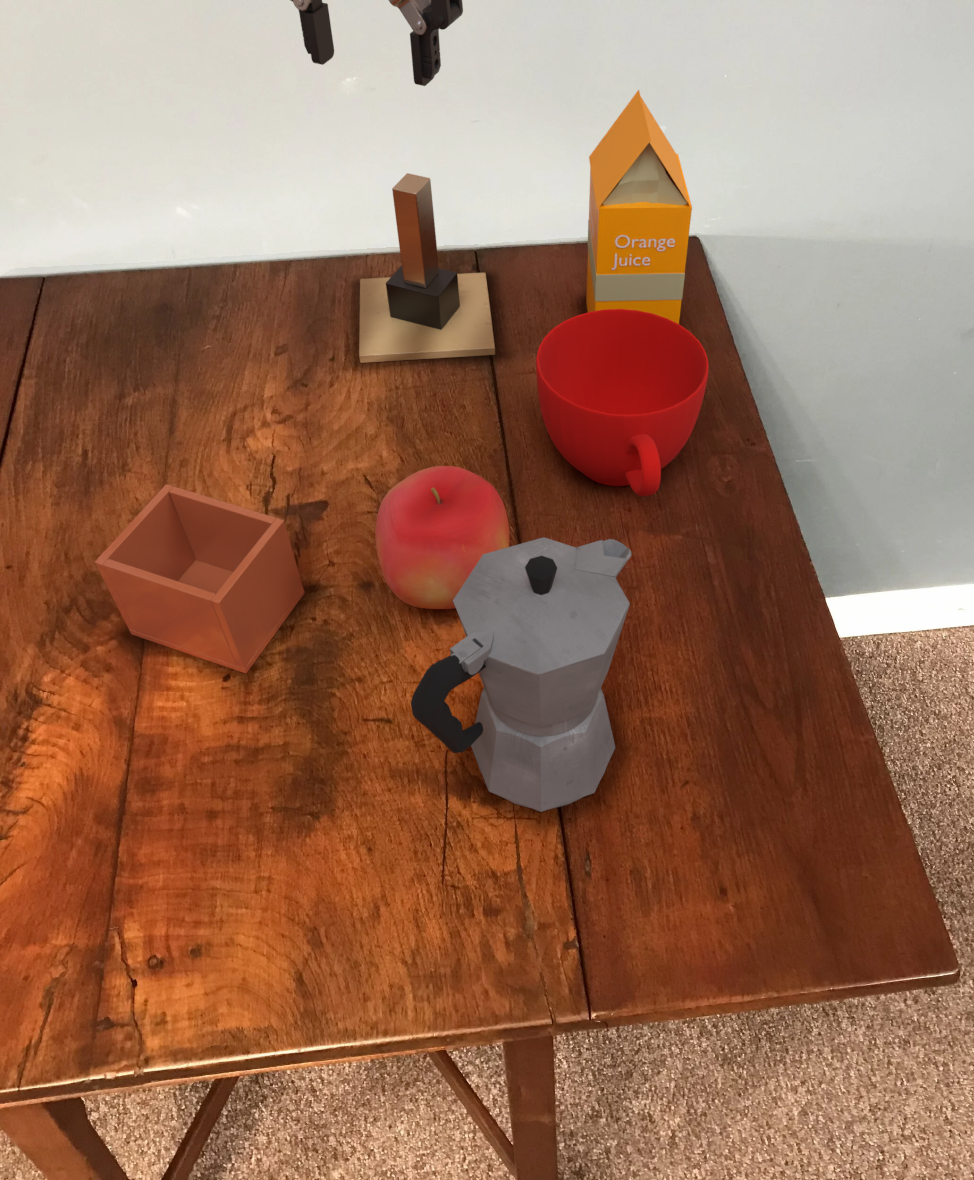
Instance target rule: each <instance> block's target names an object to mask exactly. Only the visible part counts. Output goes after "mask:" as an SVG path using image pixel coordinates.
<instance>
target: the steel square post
mask: <svg viewBox="0 0 974 1180" xmlns="http://www.w3.org/2000/svg"><path fill="white" fill-rule="evenodd" d="M431 181H432V180H431V177H426V176H423V175H418V174H413V173H408V172H407V173H405V175H404V176H403V177H402V178H400V180H398V181H397V183H396V184H395V185H394V186H393V187H392V188H391V191H392V198H393V206H394V215H395V222H396V223H395V224H396V230H397V237H398V238H397V239H398V246H399V254H400V263H401V265H400V266H399V267H398V268H397V270H396V271H395V272H394V273H393V274H392V275H391V276H390V277H391V278H390V279H389V280H388V281H387V282H386V289H387V296H388V303H389V310H390V317H393V318H396V319H400V320H404V321H408V322H412V323H416V324H420V325H424V326H428V327H432V328H436V329H440V330H442V329H443V327H444V326H445V325H446V323H447V322H448V321H449V320H450V318H451V317H452V316H453V314H454V313H455V312H456V311H457V309H458V308H459V307H460V302H459V289H458V276H457V274H458V272H456V271H452V270H447V269H444V268H439V266H440V265H439V255H438V247H437V245H438V244H437V235H436V234H437V233H436V225H435V215H434V213H435V211H434V203H433V194H432V193H433V192H432V182H431Z"/></svg>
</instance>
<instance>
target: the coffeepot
mask: <svg viewBox="0 0 974 1180" xmlns="http://www.w3.org/2000/svg"><path fill="white" fill-rule="evenodd" d="M631 556H632V551H631V549H630V548H629V547H628V546H626V545H625V544H623V542H621V541H618V540H616V539H613V538H608V539H605V540H603V539H600V540H595V541H594V542H593V541H592V542H590V543H586V544H583V545H580V546H572V545H569V544H566V543H564V542H560V541H557V540H554V539H551V538H548V537H546V536H545V537H544V536H543V537H540V538H536V539H533V540H529V541H526V542H521V543H518V544H515V545H511V546H509V547H507V548H504V549H500V550H497V551H493V552H490V553H486V554H483V555H482V557H481V558H480V560H479V561H478V563H477V564H476V566H475V568H474V569H473V571H472V572H471V574H470V575H469V577H468V578H467V580H466V581H465V583H464V584H463V586H462V587H461V589H460V590H459V592H458V594H457V595H456V597H455V598H454V600H453V603H454V605H455V608H454V609H455V610H456V612H457V615H458V618H459V620H460V621H459V622H460V623H461V627H462V629H463V632H464V635H465V637H464V638H463V639H462V640H460V641H458V642H457V643H456V644H454V645H453V646H451V647H450V648H449V652H450V655H448V656H446V657H444V658H442V659H440V660H438V661H436V662H435V663H433V664H431V665H430V666H429V667H428V668H427V669H426V671H425V673H424V674H423V675H422V678H421V680H420V681H419V682H418V685H417V686H416V688H415V690H414V692H413V694H412V696H411V701H410V707H411V713H412V716H413V717H414V719H416V721H418V722H419V723H420V724H421V725H422V726H424V727H425V728H426V729H427V730H428V731H429V732H430V733H431V734H433V735H434V736H435V737H436V738H437V739H438V740H439V741H440V742H441V743H442V744H443V745H444V746H445V747H447V749H448V750H449V751H451V752H452V753H453V754H463V752H465V751H466V750H468V749H469V748H470V747H471V750H472V752H473V755H474V757H475V758H474V759H475V760H476V763H477V766H478V769H479V771H480V774H481V775H482V777H483V780H484V783H485V786H486V788H487V790H488V792H489V793H491V794H493V795H496V796H498V797H500V798H502V799H504V800H506V801H508V802H510V803H511V804H515V805H517V806H521V807H524V808H527V809H532V810H535V811H537V812H540V813H542V812H547V811H549V810H552V809H557V808H560V807H565V806H569V805H571V804H572V803H574V802H578V801H579V800H581V799H583V798H584V797H587V796H589V795H593V794H595V793H596V791H597V788H598V786H599V784H600V782H601V780H602V778H603V777H604V775H605V773H606V770H607V767H608V765H609V763H610V760H611V758H612V756H613V754H614V752H615V750H616V744H615V743H616V742H615V739H614V735H613V731H612V726H611V722H610V717H609V712H608V708H607V704H606V698H605V695H604V692H603V690H602V686H603V684H604V682H605V679H606V677H607V675H608V673H609V670H610V667H611V664H612V660H613V658H614V655H615V651H616V649H617V645H618V642H619V639H620V636H621V633H622V630H623V627H624V624H625V620H626V617H627V614H628V612H629V608H630V604H631V603H630V601H629V600H628V598H627V596H626V594H625V592H624V590H623V589H622V587H621V585H620V584H619V581H618V580H617V577H618V575H619V574H620V573H621V572H622V569H623V568H624V566H626V564H627V562H628V561H629V560H630V558H631ZM476 675H479V679H480V680H481V683H482V685H483V689H482V691H481V693H480V698H479V703H478V708H477V714H476V718H475V723H473V724H472V725H470V726H469V727H466V728H464V729H463V724H462V721H461V720H460V719H458V717H456V716H455V715H453V713H452V711H451V708H450V705H449V704H448V703H447V702H446V699H447V697H448V695H449V693H450V692H451V691H452V690H454V689H456V688H457V687H458V686H460V685H462V684H464V683H466V682H467V681H468V680H471V679H472V678H473V677H475V676H476Z"/></svg>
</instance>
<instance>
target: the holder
mask: <svg viewBox="0 0 974 1180" xmlns="http://www.w3.org/2000/svg"><path fill="white" fill-rule="evenodd" d="M94 564H95V566H96V568H97V570H98V572H99V574H100V576H101V578H102V581H103V582H104V584H105V587H106V588H107V591H108V592H109V595H110V596H111V597H112V599H113V601H114V603H115V606H116V607H117V609H118V611H119V613H120V615H121V617H122V619H123V621H124V623H125V625H126V627H127V628H128V630H129V633H130V634H131V635H132V636H134V637H138V638H140V639H144V640H147V641H150V642H152V643H156V644H158V645H161V646H164V647H166V648H167V647H168V648H170V649H173V650H176V651H179V652H182V653H185V654H187V655H190V656H194V657H195V658H199V659H202V660H205V661H207V662H211V663H214V664H216V665H220V666H222V667H225V668H228V669H231V670H234V671H237V672H240V673H242V674H248V672H249V671H250V669H251V668H252V667H253V666H254V664H255V663H256V661H257V660H258V659H259V657H260V656H261V654H262V653H263V652H264V650H265V649H266V648H267V646H268V645H269V643H270V642H271V640H272V639H273V638H274V636H275V635H276V633H277V632H278V631H279V629H280V628H281V626H282V625H283V624H284V623H285V621H286V620H287V619H288V617H289V615H290V614H291V612H292V611H293V610H294V609H295V608H296V606H297V605H298V603H299V602H300V600H301V599H302V598H303V596H304V595H305V593H306V592H305V589H304V585H303V582H302V578H301V575H300V572H299V571H300V570H299V568H298V564H297V561H296V558H295V554H294V550H293V547H292V543H291V540H290V537H289V532H288V530H287V525H286V523H285V520H284V519H283V518H279V517H275V516H272V515H269V514H265V513H262V512H259V511H255V510H252V509H249V508H246V507H243V506H239V505H236V504H233V503H230V502H226V501H224V500H220V499H216V498H213V497H210V496H208V495H207V496H206V495H204V494H200V493H197V492H194V491H191V490H188V489H183V488H180V487H177V486H173V485H171V484H168V483H165V485H163V486H162V488H161V489H159V491H158V492H157V493H156V494H155V495H154V497H153V498H152V499H151V500H150V501H149V502H148V503H147V504H146V505H145V506H144V507H143V508H142V510H141V511H139V513H138V514H137V515H135V517H134V518H133V519H132V520H131V522H130V523H128V525H127V526H126V527H125V528H124V529H123V530H122V531H121V532H120V533H119V534H118V535H117V537H115V539H114V540H113V541H112V542H111V543H110V544H109V545H107V547H106V549H104V551H103V552H102V553H101V554H100V555H99V556H98V557H97V558H96V559H95V560H94Z"/></svg>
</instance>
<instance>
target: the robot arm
mask: <svg viewBox="0 0 974 1180" xmlns="http://www.w3.org/2000/svg"><path fill="white" fill-rule="evenodd" d="M290 2H292V3H293V5H294V7H295V8H296V9H297V10H298V14H299V15H298V16H299V21H300V27H301V32H302V37H303V44H304V48H305V50H306V53H307V54H308V55H310V58H311V62H312V63H313V64H317V65H322V66H323V65H326V63H328V62H329V61H330V60H332V59H333V57H334V55H335V47H334V46H335V45H334V38H333V32H332V26H331V25H332V24H331V17H330V10H329V4H328V3H326V2H323V0H290ZM388 2H389V3H390V5H392V6H393V7H395V8H397V9H398V10H399V12H400V13H401V14H402V16H403V17H404V19H405V20H406V22H407V23H408V26H409V27H410V28H411V30H412V31H411V32H410V33H409V40H410V51H411V52H410V53H411V63H412V75H413V76H412V77H413V82H414V84H415V85H417V86H423V87H425V86H427V85H429V83H431V82H432V81H433V80H434V78H435V76H436V75H437V74H438V73H439V72H440V69H441V67H442V62H441V47H440V45H441V44H440V32H439V31H440V30H442V31H443V30H447V28H449V27H450V26H451V25H452V24H453V23H455V22H456V20H458V19H459V18H460V17H461V16H463V12H464V5H463V0H388Z"/></svg>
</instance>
